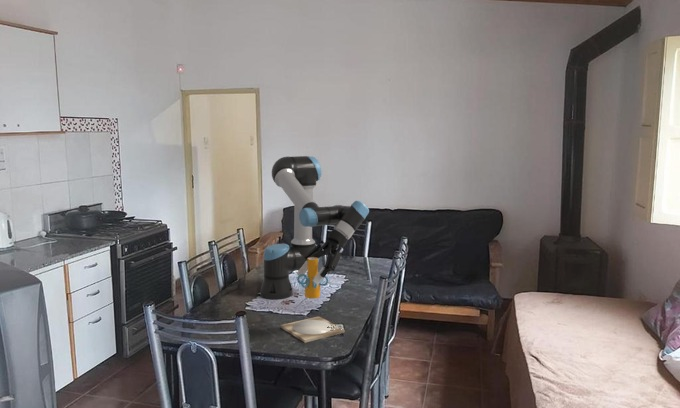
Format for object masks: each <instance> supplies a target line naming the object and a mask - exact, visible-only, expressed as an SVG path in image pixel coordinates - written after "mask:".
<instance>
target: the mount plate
mask: <svg viewBox="0 0 680 408" xmlns="http://www.w3.org/2000/svg"><path fill="white" fill-rule="evenodd" d="M331 325H332V326H331ZM335 325H336V324H334V323H333V322H331V321H329V320H327V319H326V318H323V317H321V316H320V315H319V316H314V317H310V318H306V319H302V320H297V321H293V322H289V323H285V324H280V328H281V329H282V330H284V331H285V332H288V333H289V334H290V335H291V336H294V337H295V338H296V339H298V340H300V341H301V342H303V343H304V344H306V343H309V342H313V341H317V340H320V339H324V338H330V337H333V336H337V335H340V334H341V335H342V334H344V333H345V331H346V330H345V329H343V328H342V327H340V326H338V325H336V326H335ZM328 326H329V327H332V328H333V326H334V327H335V328H333V329H331V328H327V327H328ZM337 327H338V328H339V327H340V328H339V329H336V328H337ZM334 329H335V330H334ZM341 329H342V330H341ZM330 330H333V331H330Z"/></svg>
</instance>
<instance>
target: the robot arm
mask: <svg viewBox="0 0 680 408" xmlns="http://www.w3.org/2000/svg"><path fill="white" fill-rule="evenodd" d="M321 177H322V167H321V164H320V162H319V160H318V159H317V158H316V157H314V156H309V155H308V156H307V155H304V156H302V155H300V156H283V157H281V158H278V159H277V160H276V161H275V162H274V163H273V166H272V169H271V178H272V180H273V182H274V183H275V185H276V186H277V187H279V188H281V189H282V190H283V191H284V193H285V195H287V197H288V198H289V200H290V201H291V202H292V203H293V206H294V211H293V213H294V214H293V215H294V217H293V218H294V221H293V226H294V227H293V239H291V241H290V245H289V244H287V243H275V244H271V245H269V246H266V247H265V248H264V250H263V281H262V284H261V286H260V290H259V291H260V296H261V297H262V298H264V299H268V300H269V299H271V300H280V299H287V298H290V297H291V296H293V293H294V292H293V291H294V290H293V286H292V284H291V280H290V272H294V271H297V272H296V275H297V277H298V276H299V275H300V274H305V275H306V273H308V258H310V257H316V258H318V263H319V262H320V258H321V257H322V256H323V257H324V256H326V255H327V256H326V260H325V264H324V265H323V266H322V267H321V269H319V270H318V274H317V275H316V277H315V278H314V279H313V282H314V283H315V284H316V285H318V284H319V283H320V282H321V280H322V279H323V278H324V277H325V276H327V275H328V274H329V272H331V271H332V272H335V270H336V268H337V266H338V263H339V262H340V259H341V258H342V257H341V256H342V255H343V254H344V253H345V250H344V247H345V246H346V245H347V243H348V240H350V239H351V237H352V236H353V235H354V233H355V232H356V231H357V229H358V228H360V226H361V225H362V223H363V222H364V221H365V220H366V217H367V216H368V215H369V213H370V209H369V207H368V206H367V205H366V204H365V203H364V202H362V201H361V200H360V201H359V200H354V201H353V203H352V204H351V205H341V204H335V205H332V206H319V205H318V204H317V203H316V202H315V201H314V198H313V197H314V188H315V187H316V186H317V182H318V181H320V180H321ZM330 225H331V226H333V225H334V227H333V229H332V230H331V231H330V233H329V234H328V235H327V240H326V241H325V242H324V241H323V240H320V241H319V242H318V244H316V241H315V239H313V228H314V227H321V226H330ZM303 278H304V276H301V277H300V278H299V279H303ZM324 279H325V278H324ZM324 279H323V280H324ZM321 283H322V282H321Z"/></svg>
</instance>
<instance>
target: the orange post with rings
mask: <svg viewBox="0 0 680 408" xmlns="http://www.w3.org/2000/svg"><path fill="white" fill-rule="evenodd" d="M318 273H319V262H318V258H316V257H310V258H308V270H307V275H306V273H305V274H300V275H299V276H298V275H297V278H296V280H297V283H298V284H300V285H301V287H302V288H304V297H305V298H307V299H313V300H314V299H318V298H320V297H321V286H322V287H325V286H327V285H328V283H329V278H328V276H327V275H326V276H325V277H324V278H323V279H322V280H321V282H320V283H319V284H318V285H316V284H315V283H314V282H313V279H314V278H315V277H316V275H317V274H318ZM301 276H303V277H302V278H300V277H301ZM300 279H301V280H300ZM324 279H325V280H326V281H325V283H323V281H324Z"/></svg>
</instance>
